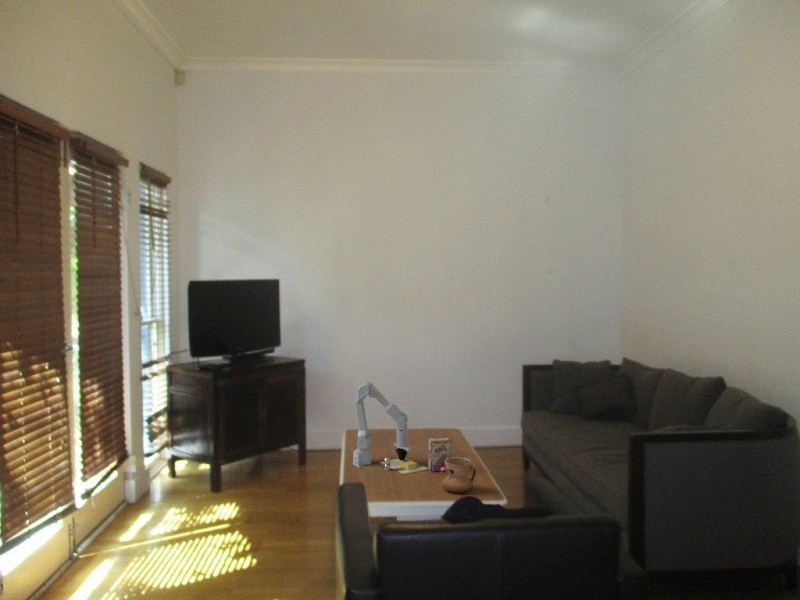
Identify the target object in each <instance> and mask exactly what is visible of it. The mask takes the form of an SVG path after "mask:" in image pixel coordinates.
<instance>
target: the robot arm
mask: <svg viewBox="0 0 800 600" xmlns="http://www.w3.org/2000/svg"><path fill="white" fill-rule="evenodd" d="M367 396H368V398H374V399H376V400H377V401H378V402H379V403H380V404H381V405H382V406H383V407H384V408H385V413H386V414H388V415H389V416H390V417H391V418H392V420H394V421H395V424H396V441H395V442H393V447H395V448H396V449H395V452H396V453H397V456H398V459H399V460H405V458H406V457H407V456H408V453H412V448H411V447H410V444H408V422H409V416H408V415H407V414H406V413H404V411H401V409H399V407H398V405H397V404H394V403H391V402H390V401H388V399H386V397H385V396H384V395H383V394H382V392H380V390H379V389H378V388H377V387H376V386H375V385H374V384H373V383H372V382H370V381H365V382H364V383H363V384H361V385H359V387H358V388H357V389H356V392H355V394H354V396H353V406H354V411H355V419H356V425H357V431H358V432H357V441H356V446H357V448H356V449H354V450H353V453H352V461H353V462H352V465H353V466H355V467H357V468H362V466H368V465H371V464H372V457H373V456H372V446H371V445H372V443H373V438H372V436H371V434H370V430H369V428H368V422H367V416H366V411H365V404H364V403H365V402H364V401H365V399H366V398H367ZM406 459H407V458H406Z"/></svg>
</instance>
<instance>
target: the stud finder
mask: <svg viewBox="0 0 800 600" xmlns="http://www.w3.org/2000/svg"><path fill="white" fill-rule="evenodd" d="M416 463H417V462H416V461H413V460H411V461H410V459H408V458H406V459H405V460H399V466H400V467H402V468H404V469H406V470H413V469H416Z"/></svg>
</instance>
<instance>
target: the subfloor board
mask: <svg viewBox="0 0 800 600" xmlns="http://www.w3.org/2000/svg"><path fill="white" fill-rule="evenodd" d="M405 459H407V458H405ZM409 460H410V459H409ZM410 461H412V460H410ZM378 463H380V464H381V465H384V461H380V462H379V461H378ZM415 463H416V469H413V470H406V469H404V468H402V467H400V466H399V458H394V459H390V469H392V470H394V471H396V472H398V473H400V474H402V475H401V476H403V477H404V476H407V475H414V474H419V473H424V472H427V471H429V468H428V467H426V466H424V465H422V464H419V463H417V462H415Z"/></svg>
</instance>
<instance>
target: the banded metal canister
mask: <svg viewBox="0 0 800 600" xmlns="http://www.w3.org/2000/svg"><path fill="white" fill-rule="evenodd" d="M383 460H384V464H383V467H384V471H386V472H388V471H391V468H390V460H391V457H387V456H386V457H384V458H383Z"/></svg>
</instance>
